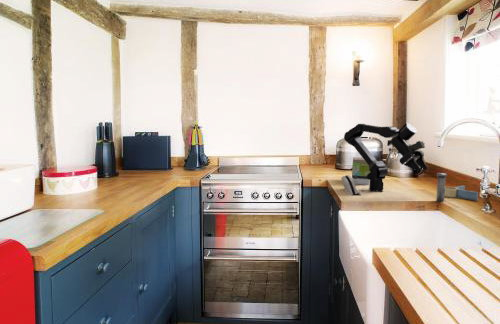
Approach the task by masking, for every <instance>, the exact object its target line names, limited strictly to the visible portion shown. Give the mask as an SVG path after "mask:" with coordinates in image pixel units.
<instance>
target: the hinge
mask: <svg viewBox="0 0 500 324" xmlns="http://www.w3.org/2000/svg"><path fill="white" fill-rule="evenodd" d="M340 179H341V182H342V185H343V187H344V188H343V189H344V190H345V191H346V193H348V194H349V195H350V196H353V195H354V194H355V195H358V196H361V195H362V194H361V192H360V191H359V190H358V189H357V187H356V184H354V181H353V179H352V175H349V174H346V175H344V176H342V177H340Z"/></svg>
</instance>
